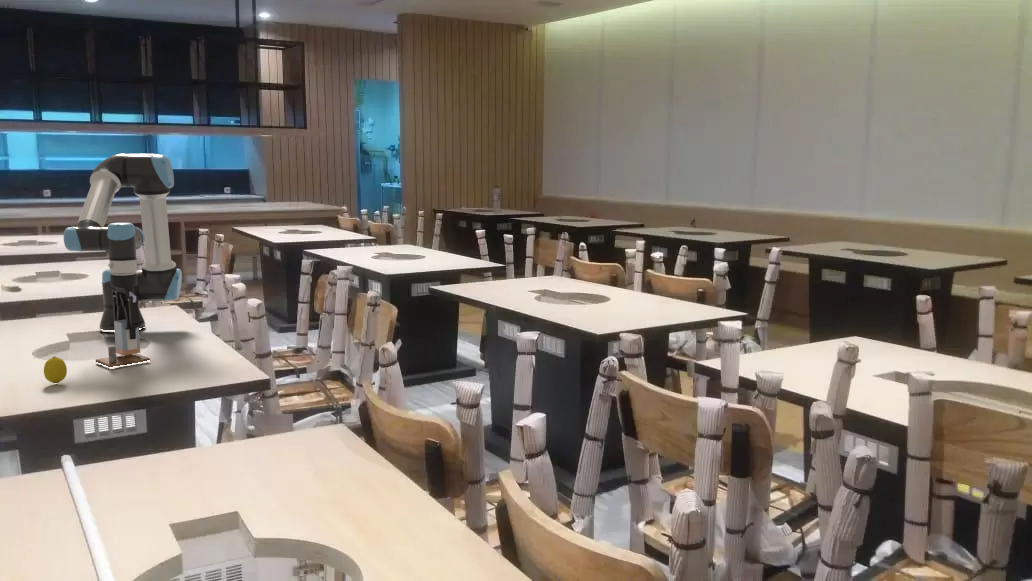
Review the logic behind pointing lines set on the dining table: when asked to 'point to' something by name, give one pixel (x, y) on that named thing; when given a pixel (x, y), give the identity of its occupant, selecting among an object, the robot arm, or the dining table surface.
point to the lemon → (55, 370)
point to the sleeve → (124, 338)
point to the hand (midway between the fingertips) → (127, 347)
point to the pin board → (120, 358)
